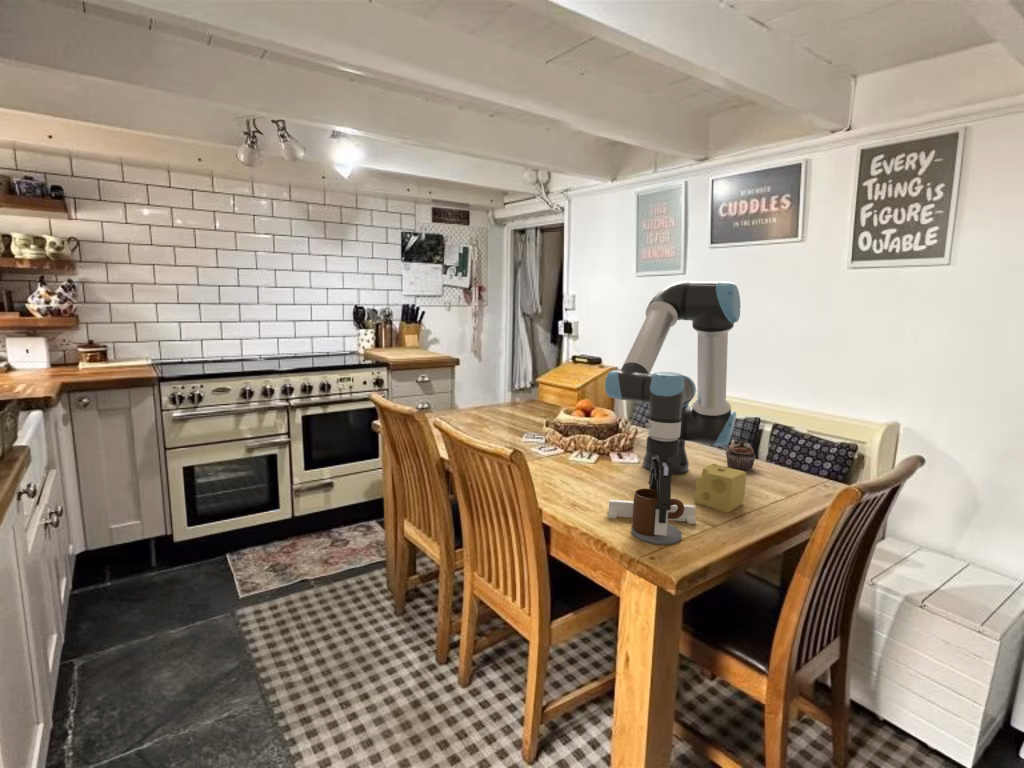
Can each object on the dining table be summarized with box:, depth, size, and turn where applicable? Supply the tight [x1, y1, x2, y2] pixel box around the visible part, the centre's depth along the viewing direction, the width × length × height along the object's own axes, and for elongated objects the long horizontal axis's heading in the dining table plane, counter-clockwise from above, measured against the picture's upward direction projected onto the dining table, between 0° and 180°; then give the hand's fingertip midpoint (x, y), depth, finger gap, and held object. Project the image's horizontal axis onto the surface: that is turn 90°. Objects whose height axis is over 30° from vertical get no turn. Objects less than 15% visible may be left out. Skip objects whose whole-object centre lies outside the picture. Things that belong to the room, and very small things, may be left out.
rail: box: [607, 499, 696, 525], centre depth 143 cm, size 4×22×4 cm, turn 83°
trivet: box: [630, 523, 683, 546], centre depth 134 cm, size 12×12×1 cm
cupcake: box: [725, 437, 757, 472], centre depth 189 cm, size 10×10×10 cm
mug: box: [631, 488, 685, 536], centre depth 132 cm, size 12×8×9 cm, turn 65°
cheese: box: [693, 463, 747, 514], centre depth 154 cm, size 10×11×10 cm
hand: (656, 524), depth 133 cm, fingers open, 10 cm apart
